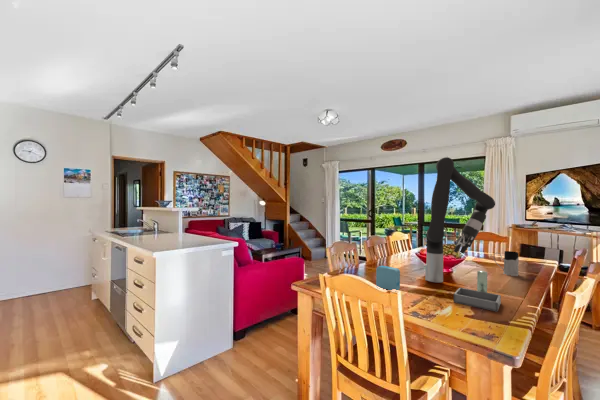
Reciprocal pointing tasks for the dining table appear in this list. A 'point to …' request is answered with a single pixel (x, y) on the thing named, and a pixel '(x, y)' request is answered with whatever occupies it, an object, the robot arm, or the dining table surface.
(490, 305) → the tote
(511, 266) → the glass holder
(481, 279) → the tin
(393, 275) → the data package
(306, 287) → the dining table surface
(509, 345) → the dining table surface
